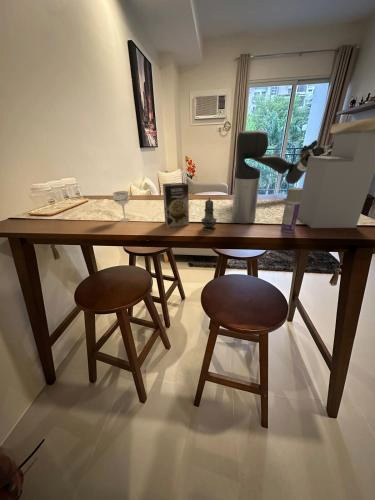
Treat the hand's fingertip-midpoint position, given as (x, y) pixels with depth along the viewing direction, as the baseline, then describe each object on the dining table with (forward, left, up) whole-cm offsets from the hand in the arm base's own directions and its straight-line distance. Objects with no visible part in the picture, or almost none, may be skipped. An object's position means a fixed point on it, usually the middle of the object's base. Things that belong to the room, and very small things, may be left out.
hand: (326, 141), depth 90 cm
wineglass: (-87, -15, -29) cm, 93 cm away
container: (-21, -29, -29) cm, 46 cm away
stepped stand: (-4, -20, -29) cm, 35 cm away
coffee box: (-63, -21, -29) cm, 73 cm away
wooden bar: (0, -17, +3) cm, 17 cm away
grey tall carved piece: (-50, -27, -29) cm, 64 cm away
